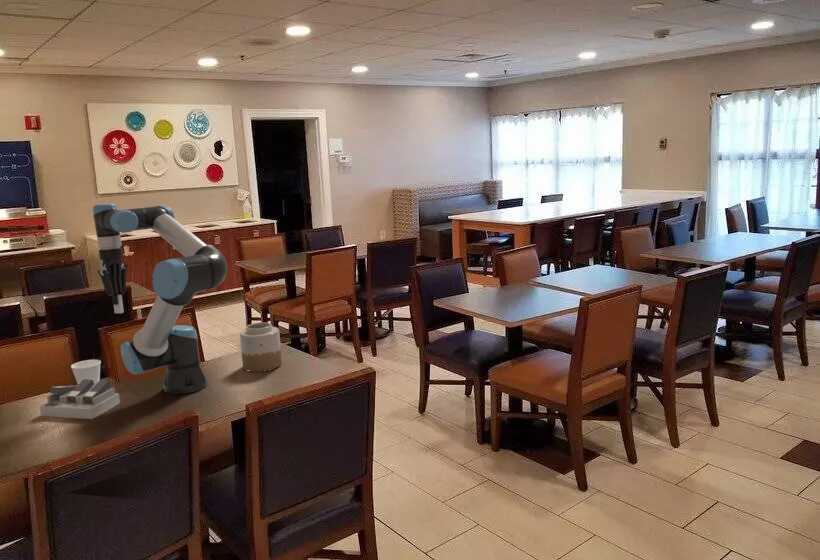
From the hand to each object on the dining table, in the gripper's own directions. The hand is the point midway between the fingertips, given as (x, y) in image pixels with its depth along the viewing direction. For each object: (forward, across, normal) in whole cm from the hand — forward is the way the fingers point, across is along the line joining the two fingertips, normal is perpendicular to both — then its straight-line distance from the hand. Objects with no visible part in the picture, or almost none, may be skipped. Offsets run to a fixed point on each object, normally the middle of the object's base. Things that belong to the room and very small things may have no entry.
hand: (119, 312), depth 231 cm
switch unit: (+29, +19, -5) cm, 35 cm away
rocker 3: (+23, +18, +1) cm, 29 cm away
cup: (+30, +4, -14) cm, 33 cm away
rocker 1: (+23, +18, -12) cm, 31 cm away
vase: (+30, -31, +38) cm, 57 cm away
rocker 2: (+23, +18, -5) cm, 29 cm away
